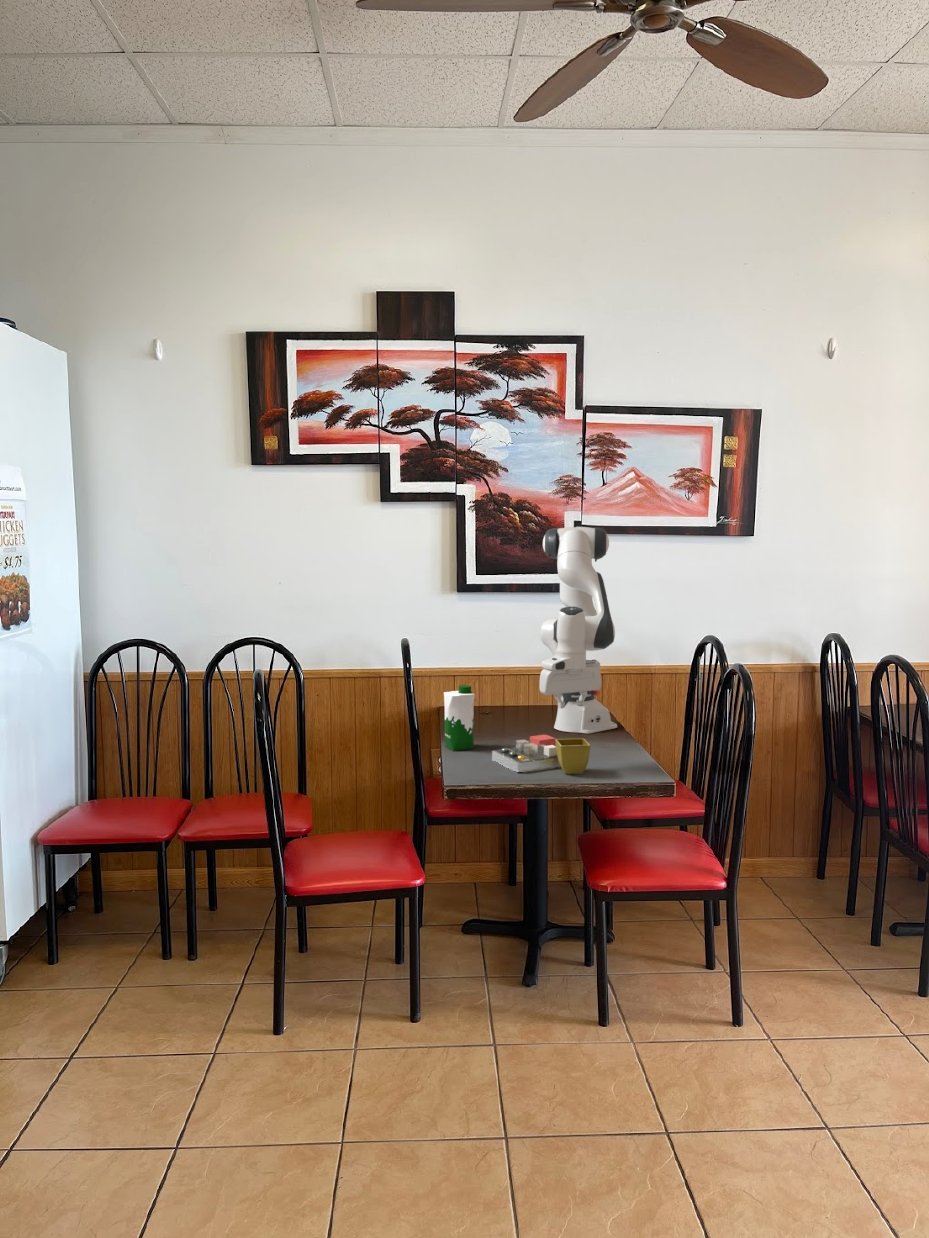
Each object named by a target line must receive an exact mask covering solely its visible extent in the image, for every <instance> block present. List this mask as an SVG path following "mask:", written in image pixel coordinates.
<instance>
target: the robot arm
mask: <svg viewBox="0 0 929 1238" xmlns="http://www.w3.org/2000/svg"><path fill="white" fill-rule="evenodd" d="M609 539H610V538H609V536H608V533H607V531H606V530H605V529H604V528H602V527H598V526H597V527H589V526H588V527H587V526H575V527H574V526H573V527H572V526H570V527H560V528H558V527H554V528H550V529H548V530H547V531H545V534H544V536H543V539H542V548H543V552H544V553H545V555H546V557H547V558H550V559H552V560H557V562H556V565H557V568H556V569H557V576H558V577H559V599H560V602H561V603H562V604H563V606H565V607H562V608H560V609H559V611H558V615H557V617H552V618H548V619H545V620H544V621H543V622H542V624H541V626H540V629H539V636H540V641H542V643H543V645H545V646H546V647H547V648H548V650H550V652H551V653H552V654H553V656H550V657H548V658H546V659H543V661H541V667H542V668H543V669H542V670H541V672H540V673H539V674H540V675H539V691H540V693H541V694H542V695H544V696H552V695H554V698H555V700H556V702H557V712H556V718H555V722H554V726H553V728H554V729H556V730H558V731H561V732H567V733H578V734H579V733H580V734H581V733H582V734H593V733H599V732H603V731H607V730H612V729H616V728H617V729H618V724H617V723H616V722H613V721H612V720H611V714H610V713H611V712H610V710H609V709H608V708H607V707H606V706H604V705H603V704H602V703H601V702H600V701H598V700H597V699H596V698H595V696H597V697H599V696H600V694H601V691H600V689H601V688H602V685H603V684H602V683H603V682H602V675H601V663H600V662H599V661H598V660H597V659H587V652H589V651H590V652H593V651H599V650H600V651H601V650H605V649H606V648H608V647H609V646H610V645H612V644H613V643H614V641H615V637H616V630H615V624H614V621H613V620H612V615H611V612H610V611H611V610H610V605H609V601H608V595H607V591H606V586H605V582H604V581H605V580H604V578H603V576H602V574H601V573H600V572H598V571H597V570H596V569H595V568H594V566H593V562H592V561H593V559H594V562H595V563H596V562H598V560H601V559H603V558H604V557H605V556H606V555H607V552H608V549H609V547H610V540H609Z"/></svg>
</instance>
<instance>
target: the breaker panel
mask: <svg viewBox="0 0 929 1238" xmlns="http://www.w3.org/2000/svg"><path fill="white" fill-rule="evenodd" d="M544 746H545V745H543V744H541V745H536V744H534V743H530V740H526V739H517V740H515V746H514V747H510V748H508V747H501V748H500V749H495V750H491V762H494V761H496V762H498V763H499V764H498V763H497V764H498V765H500V764H501V765H500V766H502V765H503V766H502V767H503V768H504V767H505V768H506V769H508V768H509V769H508V770H510V771H512V772H514V771H516V772H522V771H530V772H536V771H542V770H549V769H550V770H551V769H557V767H558V768H561V766H560V763H559V761H558V757H557V756H547V755H544ZM496 762H495V763H496ZM516 772H515V773H516Z"/></svg>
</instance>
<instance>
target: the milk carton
mask: <svg viewBox="0 0 929 1238" xmlns="http://www.w3.org/2000/svg"><path fill="white" fill-rule="evenodd" d="M475 695H476V694H475V693H473V692H472V686H471V685H468V684H464V685H463V684H462V685H461V684H460V685H458V690H451V691H444V692H443V703H444V704H443V705H444V743H445V745H444V746H445V747H446V748H447V749H450V750H451V751H453V752H459V751H464V750H473V749H474V748H475V747H474V741H475V740H474V739H475V738H474V726H475V725H474V706H475V705H474V704H475Z"/></svg>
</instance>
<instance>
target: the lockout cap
mask: <svg viewBox="0 0 929 1238" xmlns="http://www.w3.org/2000/svg"><path fill="white" fill-rule="evenodd" d="M556 739H557V738H556V737H553V736H550V735H548V734H539V735H532V736H531V735H530V736H529V743H534V744H536V745H541V744H543V745H545V746H548V745H554V746H556Z"/></svg>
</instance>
